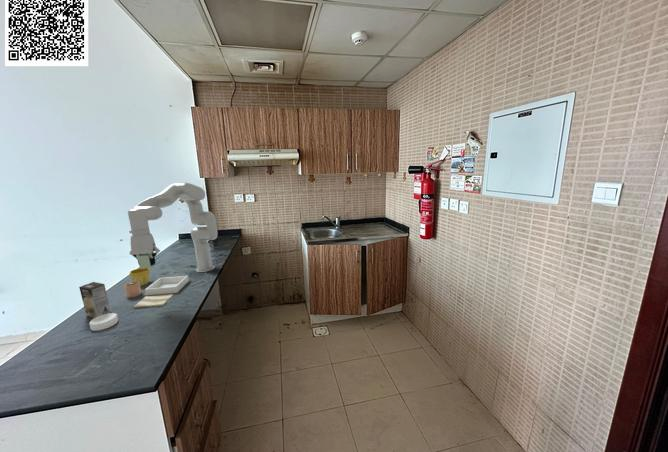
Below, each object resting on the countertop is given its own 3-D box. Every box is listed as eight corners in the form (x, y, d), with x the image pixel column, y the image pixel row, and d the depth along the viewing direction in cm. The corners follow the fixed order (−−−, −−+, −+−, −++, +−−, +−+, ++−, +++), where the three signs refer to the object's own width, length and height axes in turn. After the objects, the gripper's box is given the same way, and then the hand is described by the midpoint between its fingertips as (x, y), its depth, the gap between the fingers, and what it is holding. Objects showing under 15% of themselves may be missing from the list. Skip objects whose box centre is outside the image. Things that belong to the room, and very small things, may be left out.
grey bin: (161, 284, 168) (159, 277, 167) (189, 282, 170) (188, 275, 169) (145, 296, 151) (144, 289, 151) (177, 294, 153) (175, 286, 152)
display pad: (146, 297, 150) (145, 296, 150) (174, 295, 152) (173, 293, 152) (133, 308, 138) (132, 306, 138) (163, 305, 140) (163, 304, 140)
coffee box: (85, 316, 132) (78, 286, 129) (100, 310, 138) (93, 281, 135) (97, 319, 129) (90, 288, 126) (112, 312, 135) (105, 283, 132)
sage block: (145, 265, 143) (143, 253, 142) (155, 264, 144) (152, 252, 142) (140, 268, 138) (137, 256, 137) (150, 268, 139) (147, 255, 137)
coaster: (109, 329, 120) (107, 322, 120) (85, 332, 119) (83, 325, 118) (122, 317, 130) (121, 311, 129) (100, 320, 128) (98, 314, 128)
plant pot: (156, 281, 174) (153, 267, 171) (143, 288, 163) (140, 273, 161) (141, 281, 175) (138, 267, 173) (128, 288, 165) (125, 273, 162)
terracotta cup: (131, 293, 156) (129, 281, 154) (144, 292, 157) (141, 280, 155) (124, 299, 149) (121, 286, 148) (137, 298, 150) (134, 285, 148)
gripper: (118, 235, 132) (125, 269, 136) (154, 232, 134) (160, 266, 138) (128, 231, 140) (134, 264, 143) (162, 229, 142) (167, 261, 145)
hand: (147, 264), depth 141 cm, fingers closed on sage block, 5 cm apart
